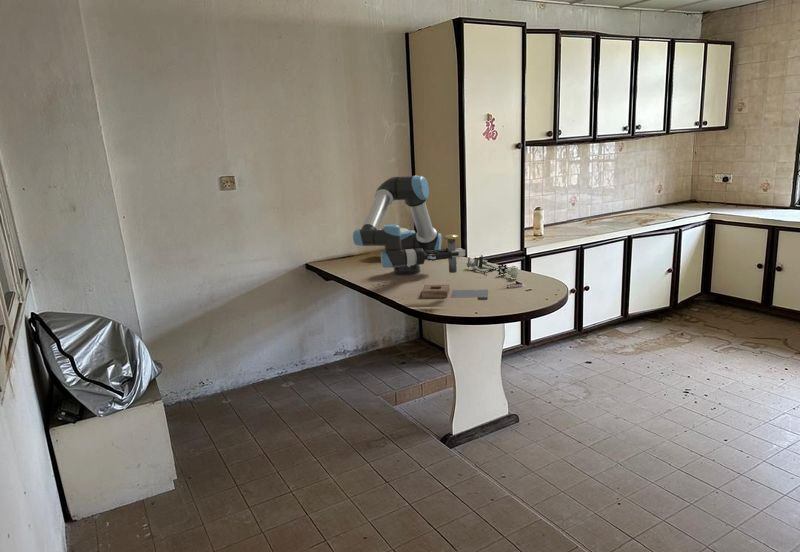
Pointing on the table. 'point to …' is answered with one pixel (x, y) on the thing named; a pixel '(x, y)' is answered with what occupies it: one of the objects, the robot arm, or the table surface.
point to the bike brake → (481, 261)
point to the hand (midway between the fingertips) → (463, 251)
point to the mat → (470, 294)
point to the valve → (508, 270)
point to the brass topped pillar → (452, 248)
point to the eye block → (435, 291)
